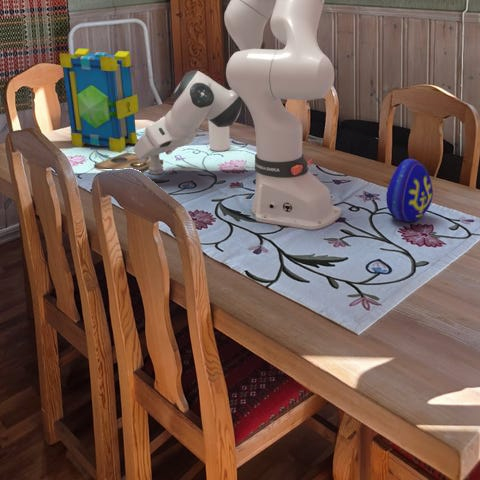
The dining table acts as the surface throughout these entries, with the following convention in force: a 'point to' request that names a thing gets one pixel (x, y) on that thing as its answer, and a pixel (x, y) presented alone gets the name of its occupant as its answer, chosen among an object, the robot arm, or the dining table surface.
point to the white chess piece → (155, 165)
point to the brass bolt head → (137, 163)
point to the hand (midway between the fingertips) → (155, 156)
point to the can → (218, 137)
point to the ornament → (409, 191)
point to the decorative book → (100, 98)
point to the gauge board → (124, 162)
